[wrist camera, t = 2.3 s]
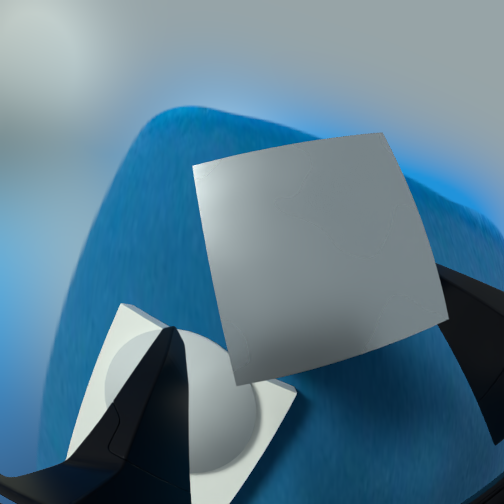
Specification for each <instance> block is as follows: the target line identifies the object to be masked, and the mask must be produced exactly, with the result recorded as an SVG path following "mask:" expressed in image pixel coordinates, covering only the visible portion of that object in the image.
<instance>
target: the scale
mask: <svg viewBox="0 0 504 504" xmlns="http://www.w3.org/2000/svg"><path fill="white" fill-rule="evenodd" d="M165 327H169V326H167V325H166V324H164V323H162V322H160V321H159V320H157V319H155V318H154V317H152V316H150V315H148V314H147V313H145V312H143V311H142V310H140V309H139V308H137V307H135V306H134V305H129V304H123V303H121V304H120V307H119V309H118V311H117V314H116V316H115V318H114V320H113V323H112V325H111V327H110V330H109V332H108V335H107V337H106V340H105V342H104V345H103V347H102V350H101V352H100V355H99V357H98V360H97V362H96V365H95V368H94V371H93V373H92V376H91V379H90V382H89V384H88V387H87V390H86V393H85V396H84V399H83V402H82V405H81V408H80V412H79V415H78V418H77V421H76V425H75V428H74V431H73V435H72V439H71V442H70V446H69V450H68V454H67V458H66V460H67V459H68V458H69V457H70V456H71V455H72V454H73V453H74V452H75V450H76V449H77V448H78V447H79V445H80V444H81V443H82V442H83V441H84V439H85V438H86V437H87V436H88V434H89V433H90V432H91V431H92V429H93V428H94V427H95V426H96V424H97V423H98V422H99V420H100V419H101V417H102V416H103V415H104V413H105V412H106V410H107V409H108V407H109V406H110V404H111V403H112V402H113V400H114V399H115V397H116V396H117V394H118V393H119V391H120V390H121V388H122V387H123V385H124V384H125V382H126V381H127V379H128V378H129V376H130V375H131V374H132V372H133V371H134V369H135V368H136V366H137V365H138V363H139V362H140V360H141V359H142V358H143V356H144V355H145V353H146V352H147V350H148V349H149V348H150V346H151V345H152V343H153V342H154V340H155V339H156V338H157V336H158V335H159V333H160V332H161V330H162V329H163V328H165ZM177 330H178V332H179V334H180V336H181V338H182V339H183V341H184V344H185V351H186V362H187V372H188V382H189V462H190V487H191V492H190V493H191V502H192V504H229V503H230V502H231V501H232V499H233V498H234V496H235V495H236V494H237V492H238V491H239V489H240V488H241V486H242V485H243V483H244V482H245V481H246V479H247V478H248V476H249V474H250V473H251V471H252V470H253V468H254V467H255V465H256V464H257V462H258V461H259V459H260V457H261V456H262V454H263V453H264V451H265V449H266V448H267V446H268V444H269V443H270V441H271V439H272V438H273V436H274V434H275V433H276V431H277V429H278V427H279V426H280V424H281V422H282V420H283V419H284V417H285V415H286V413H287V411H288V409H289V408H290V406H291V404H292V402H293V400H294V398H295V396H296V395H297V392H296V390H295V387H294V386H291V385H289V384H286V383H284V382H282V381H279V380H277V379H270V380H266V381H261V382H256V383H251V384H246V385H241V386H236V382H235V378H234V374H233V370H232V366H231V362H230V357H229V353H228V352H227V351H226V350H225V349H224V348H222V347H221V346H220V345H218V344H217V343H215V342H214V341H212V340H210V339H208V338H206V337H204V336H202V335H199V334H196V333H193V332H190V331H185V330H179V329H177ZM113 403H114V402H113Z"/></svg>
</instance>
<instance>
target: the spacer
mask: <svg viewBox="0 0 504 504" xmlns="http://www.w3.org/2000/svg"><path fill="white" fill-rule="evenodd" d="M193 172H194V179H195V185H196V191H197V197H198V203H199V209H200V215H201V221H202V226H203V232H204V237H205V243H206V248H207V254H208V259H209V264H210V269H211V274H212V279H213V284H214V289H215V294H216V299H217V303H218V308H219V313H220V317H221V322H222V327H223V331H224V336H225V340H226V344H227V349H228V353H229V357H230V362H231V366H232V370H233V374H234V378H235V382H236V386H241V385H246V384H251V383H256V382H261V381H266V380H270V379H275V378H279V377H283V376H288V375H292V374H296V373H300V372H303V371H307V370H311V369H315V368H318V367H322V366H325V365H329V364H332V363H335V362H339V361H342V360H345V359H348V358H351V357H354V356H357V355H360V354H363V353H366V352H369V351H372V350H375V349H378V348H380V347H383V346H386V345H389V344H391V343H394V342H396V341H399V340H402V339H404V338H407V337H409V336H411V335H414V334H416V333H419V332H421V331H423V330H426V329H428V328H430V327H432V326H435V325H437V324H439V323H441V322H443V321H446V320H448V319H449V317H448V312H447V308H446V303H445V299H444V294H443V290H442V286H441V282H440V278H439V275H438V271H437V267H436V264H435V260H434V257H433V254H432V250H431V247H430V244H429V241H428V238H427V235H426V232H425V229H424V226H423V223H422V221H421V218H420V215H419V213H418V210H417V207H416V205H415V202H414V200H413V197H412V195H411V192H410V190H409V187H408V185H407V183H406V180H405V178H404V176H403V174H402V171H401V169H400V167H399V165H398V163H397V161H396V158H395V157H394V155H393V152H392V150H391V148H390V146H389V144H388V142H387V140H386V138H385V136H384V135H383V133H371V134H361V135H352V136H344V137H336V138H329V139H322V140H315V141H308V142H302V143H296V144H290V145H285V146H279V147H274V148H269V149H264V150H259V151H254V152H249V153H244V154H240V155H235V156H231V157H227V158H222V159H218V160H214V161H210V162H206V163H202V164H198V165H194V166H193Z"/></svg>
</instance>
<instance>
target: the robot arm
mask: <svg viewBox="0 0 504 504" xmlns="http://www.w3.org/2000/svg"><path fill="white" fill-rule="evenodd" d="M435 264H436V267H437V271H438V275H439V278H440V282H441V286H442V290H443V294H444V299H445V303H446V308H447V312H448V317H449V319H448V320H446V321H443V322H441V323H439V324H437V325H438V326H439V328H440V330H441V332H442V333H443V335H444V337H445V339H446V340H447V342H448V344H449V346H450V348H451V349H452V351H453V353H454V355H455V357H456V359H457V361H458V363H459V365H460V367H461V369H462V371H463V373H464V375H465V377H466V379H467V381H468V383H469V385H470V387H471V389H472V391H473V393H474V396H475V398H476V400H477V402H478V405H479V407H480V410H481V412H482V414H483V417H484V419H485V422H486V424H487V427H488V429H489V432H490V435H491V437H492V440H493V443H494V445H497V444H498V443H499V442H501V441H502V440H503V439H504V292H503V291H501V290H499V289H496V288H494V287H492V286H490V285H487V284H485V283H483V282H480V281H478V280H476V279H473V278H471V277H469V276H466V275H464V274H461V273H459V272H457V271H454V270H452V269H449V268H447V267H444V266H442V265H439V264H437V263H435ZM113 402H114V403H113ZM113 402H112V403H111V404H110V406H109V407H108V409H107V410H106V412H105V413H104V415H103V416H102V417H101V419H100V420H99V422H98V423H97V424H96V426H95V427H94V428H93V429H92V431H91V432H90V433H89V434H88V436H87V437H86V438H85V439H84V441H83V442H82V443H81V444H80V445H79V447H78V448H77V449H76V450H75V452H74V453H73V454H72V455H71V456H70V457H69V458H68V459H67V460H65V461H64V462H62V463H60V464H58V465H55V466H52V467H49V468H46V469H43V470H40V471H36V472H33V473H30V474H26V475H22V476H18V477H5V476H3V475H1V474H0V494H1V495H2V496H4V497H6V498H8V499H9V500H11V501H13V502H15V503H17V504H192V502H191V493H190V492H191V487H190V462H189V382H188V372H187V362H186V351H185V344H184V341H183V339H182V338H181V336H180V334H179V332H178V330H177V328H176V327H174V326H171V327H165V328H163V329H162V330H161V332H160V333H159V335H158V336H157V338H156V339H155V340H154V342H153V343H152V345H151V346H150V348H149V349H148V350H147V352H146V353H145V355H144V356H143V358H142V359H141V360H140V362H139V363H138V365H137V366H136V368H135V369H134V371H133V372H132V374H131V375H130V376H129V378H128V379H127V381H126V382H125V384H124V385H123V387H122V388H121V390H120V391H119V393H118V394H117V396H116V397H115V399H114V400H113ZM0 504H1V503H0ZM461 504H504V472H503V473H501V474H500V475H499V476H498V477H497V478H495V479H494V480H493V481H492V482H490V483H489V484H488V485H486V486H485V487H484V488H482V489H481V490H480V491H478V492H477V493H476V494H474V495H473V496H471V497H470V498H468V499H467V500H465V501H464V502H462V503H461Z"/></svg>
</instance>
